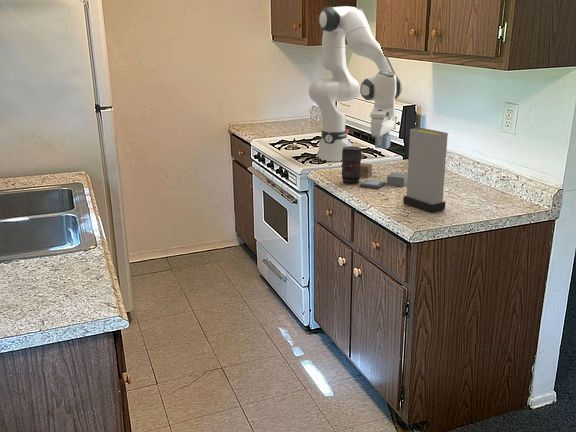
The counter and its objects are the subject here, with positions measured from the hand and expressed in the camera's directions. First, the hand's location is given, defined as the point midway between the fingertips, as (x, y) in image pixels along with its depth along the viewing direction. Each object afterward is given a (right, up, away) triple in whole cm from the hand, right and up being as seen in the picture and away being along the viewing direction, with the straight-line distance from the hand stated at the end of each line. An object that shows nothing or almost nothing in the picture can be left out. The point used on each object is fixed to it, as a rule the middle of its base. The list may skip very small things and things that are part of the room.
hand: (382, 143), depth 255 cm
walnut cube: (-7, -13, +8) cm, 17 cm away
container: (+10, -28, -35) cm, 46 cm away
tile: (-6, -19, -8) cm, 21 cm away
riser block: (+5, -18, -5) cm, 19 cm away
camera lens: (-14, -17, -2) cm, 22 cm away
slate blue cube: (0, -2, +1) cm, 2 cm away
